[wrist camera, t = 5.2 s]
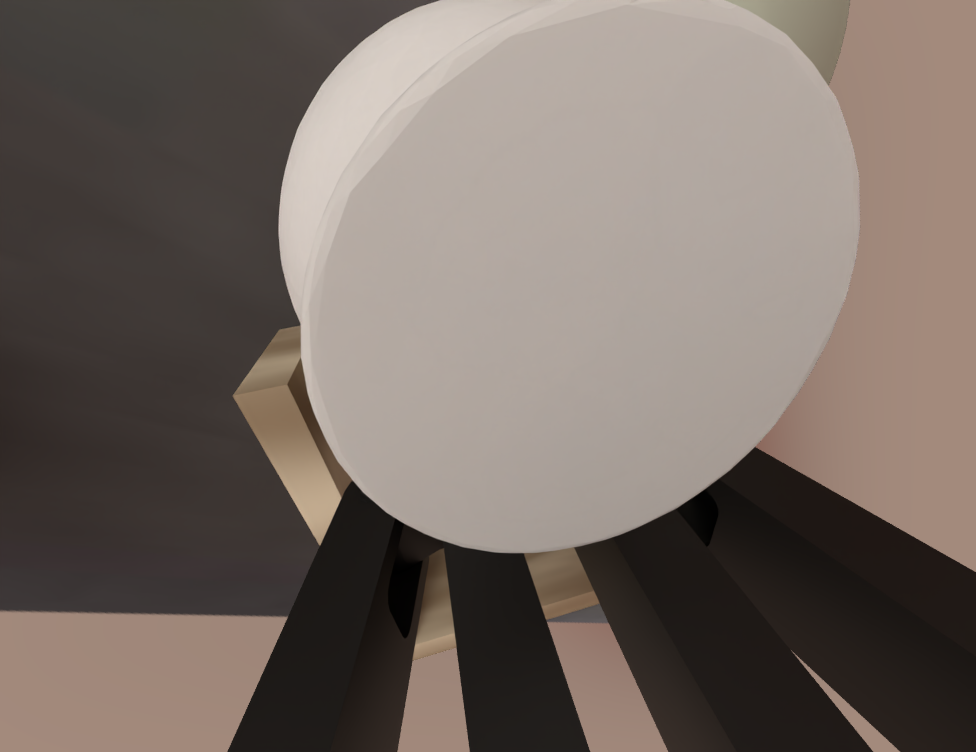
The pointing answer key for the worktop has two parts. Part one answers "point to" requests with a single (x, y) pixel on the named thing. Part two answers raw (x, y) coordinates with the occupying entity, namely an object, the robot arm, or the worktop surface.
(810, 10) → the sage green dome
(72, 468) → the worktop surface
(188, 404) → the worktop surface
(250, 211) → the worktop surface
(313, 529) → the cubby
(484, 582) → the robot arm
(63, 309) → the worktop surface
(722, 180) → the supplement bottle
